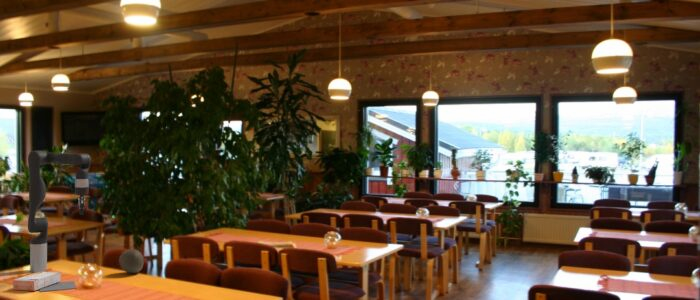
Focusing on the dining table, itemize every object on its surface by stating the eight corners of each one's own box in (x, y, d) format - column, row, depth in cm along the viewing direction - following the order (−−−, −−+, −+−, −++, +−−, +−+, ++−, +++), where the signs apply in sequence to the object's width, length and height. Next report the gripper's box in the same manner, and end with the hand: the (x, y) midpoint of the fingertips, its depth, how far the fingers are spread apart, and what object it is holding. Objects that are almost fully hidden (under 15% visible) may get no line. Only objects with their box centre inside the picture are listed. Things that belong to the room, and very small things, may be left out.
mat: (39, 284, 340) (39, 283, 340) (74, 281, 348) (74, 280, 348) (39, 292, 324) (39, 291, 324) (76, 288, 332) (76, 287, 332)
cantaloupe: (130, 270, 380) (130, 246, 380) (148, 272, 375) (148, 248, 375) (114, 274, 367) (114, 250, 367) (132, 277, 362) (132, 252, 361)
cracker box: (41, 281, 347) (12, 290, 327) (40, 270, 347) (12, 279, 327) (61, 281, 344) (34, 291, 323) (61, 271, 344) (33, 280, 323)
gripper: (74, 185, 368) (74, 213, 368) (75, 187, 356) (75, 216, 356) (87, 185, 371) (87, 213, 371) (89, 187, 359) (89, 215, 360)
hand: (81, 214), depth 364 cm, fingers closed
